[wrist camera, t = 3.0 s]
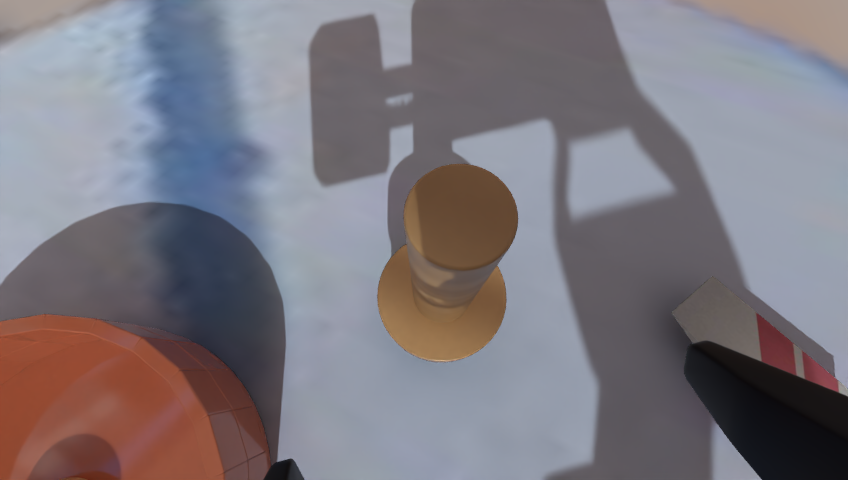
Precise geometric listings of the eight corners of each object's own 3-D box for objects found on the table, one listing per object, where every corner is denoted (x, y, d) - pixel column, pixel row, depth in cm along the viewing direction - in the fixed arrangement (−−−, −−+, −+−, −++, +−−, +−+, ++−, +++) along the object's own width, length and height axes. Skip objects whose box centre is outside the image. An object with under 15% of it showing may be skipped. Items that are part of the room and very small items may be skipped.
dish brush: (470, 379, 19) (555, 393, 7) (371, 341, 20) (283, 291, 7) (501, 281, 21) (618, 144, 8) (408, 247, 21) (387, 74, 9)
